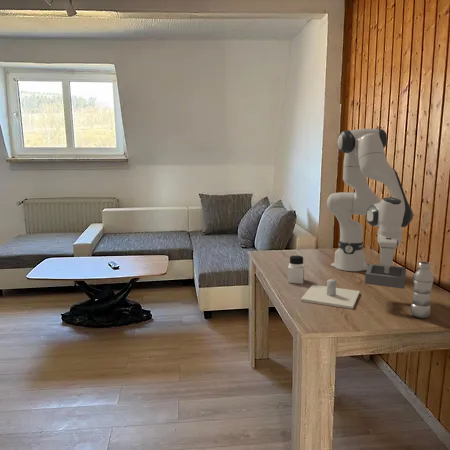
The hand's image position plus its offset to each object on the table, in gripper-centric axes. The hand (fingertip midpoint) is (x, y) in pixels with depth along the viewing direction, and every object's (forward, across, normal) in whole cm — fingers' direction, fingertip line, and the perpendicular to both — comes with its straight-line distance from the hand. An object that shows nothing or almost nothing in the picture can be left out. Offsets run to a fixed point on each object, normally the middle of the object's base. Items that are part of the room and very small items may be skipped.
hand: (386, 271), depth 166 cm
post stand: (+11, +10, -20) cm, 25 cm away
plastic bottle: (+11, +17, +13) cm, 24 cm away
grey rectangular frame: (+2, +6, 0) cm, 6 cm away
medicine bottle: (+11, -5, -39) cm, 41 cm away
